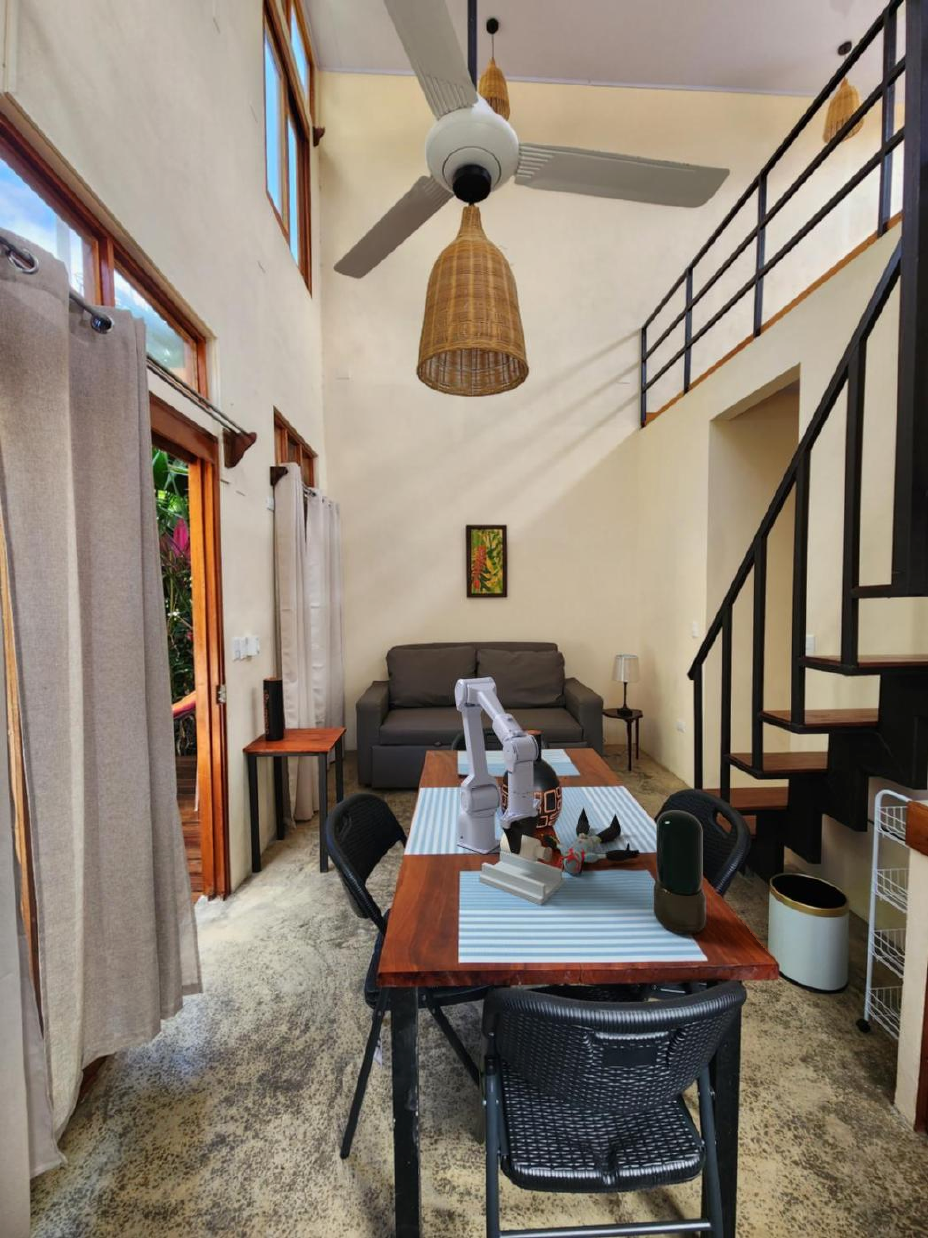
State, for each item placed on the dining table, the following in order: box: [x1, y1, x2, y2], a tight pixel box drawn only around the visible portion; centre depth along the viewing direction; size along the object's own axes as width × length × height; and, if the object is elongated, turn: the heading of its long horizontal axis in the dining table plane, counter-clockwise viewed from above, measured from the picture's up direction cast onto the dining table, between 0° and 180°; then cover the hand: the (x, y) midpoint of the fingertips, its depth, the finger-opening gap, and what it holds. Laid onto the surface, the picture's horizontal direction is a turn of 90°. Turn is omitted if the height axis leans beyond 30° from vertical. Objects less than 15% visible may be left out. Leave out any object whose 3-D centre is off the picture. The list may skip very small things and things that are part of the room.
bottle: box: [499, 832, 553, 863], centre depth 117 cm, size 11×5×5 cm, turn 52°
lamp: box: [653, 809, 707, 935], centre depth 102 cm, size 10×10×22 cm
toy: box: [540, 807, 641, 877], centre depth 131 cm, size 26×8×30 cm
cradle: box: [478, 850, 565, 906], centre depth 118 cm, size 16×11×4 cm
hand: (521, 848), depth 118 cm, fingers closed on bottle, 5 cm apart
